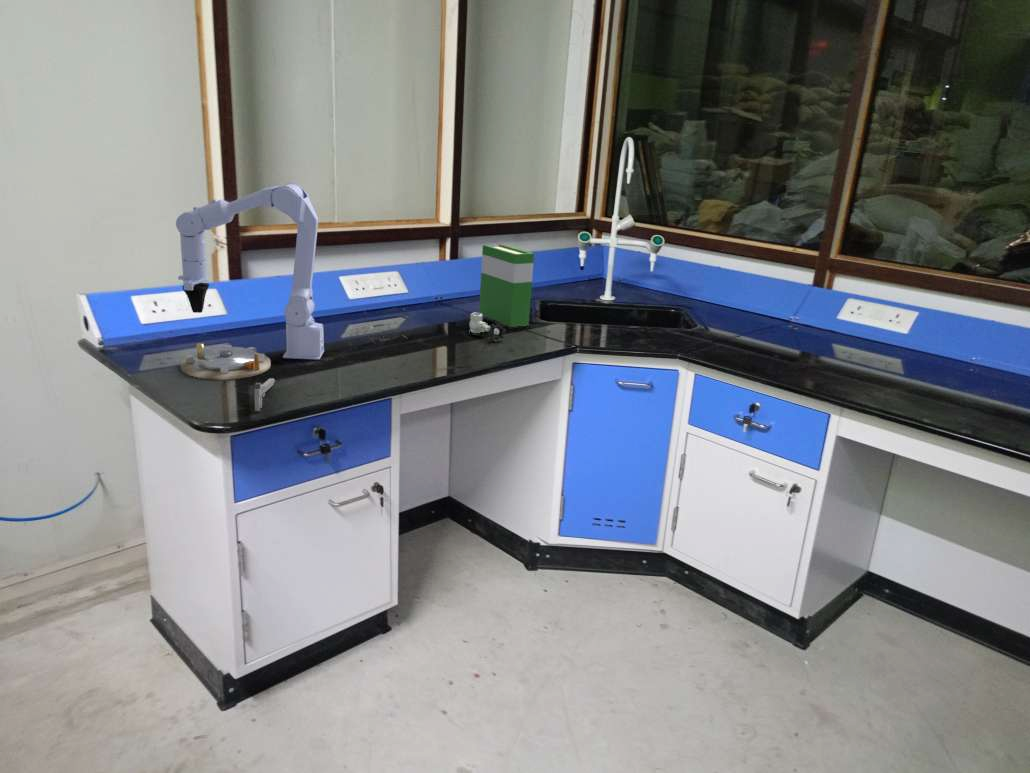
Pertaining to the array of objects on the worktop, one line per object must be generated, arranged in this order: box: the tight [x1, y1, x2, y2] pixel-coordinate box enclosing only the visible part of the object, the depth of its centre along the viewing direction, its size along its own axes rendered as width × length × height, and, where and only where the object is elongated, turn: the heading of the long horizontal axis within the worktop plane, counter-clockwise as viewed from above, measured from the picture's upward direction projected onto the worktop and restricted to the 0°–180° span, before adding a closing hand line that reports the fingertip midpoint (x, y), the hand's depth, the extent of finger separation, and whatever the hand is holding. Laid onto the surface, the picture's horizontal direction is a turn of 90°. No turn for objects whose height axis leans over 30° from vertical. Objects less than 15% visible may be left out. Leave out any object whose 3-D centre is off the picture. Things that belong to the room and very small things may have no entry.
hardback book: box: [478, 243, 535, 327], centre depth 248 cm, size 18×7×24 cm, turn 37°
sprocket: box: [185, 342, 266, 373], centre depth 189 cm, size 18×18×5 cm
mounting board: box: [180, 352, 272, 381], centre depth 190 cm, size 21×21×5 cm
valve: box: [468, 312, 507, 342], centre depth 231 cm, size 7×7×12 cm
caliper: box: [254, 377, 276, 412], centre depth 172 cm, size 20×1×6 cm, turn 8°
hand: (197, 312), depth 197 cm, fingers closed
